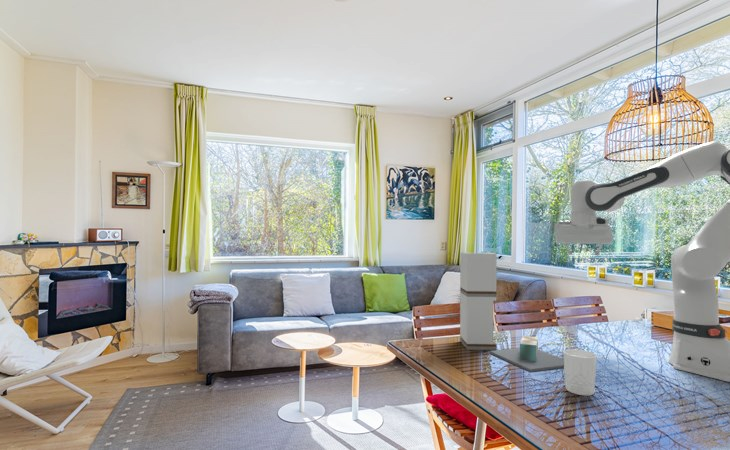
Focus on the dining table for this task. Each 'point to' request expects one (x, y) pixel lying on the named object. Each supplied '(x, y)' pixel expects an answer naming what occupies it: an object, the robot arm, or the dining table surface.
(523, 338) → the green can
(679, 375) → the dining table surface
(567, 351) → the white cup
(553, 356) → the rubber mat
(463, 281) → the grey square tower
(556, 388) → the dining table surface
